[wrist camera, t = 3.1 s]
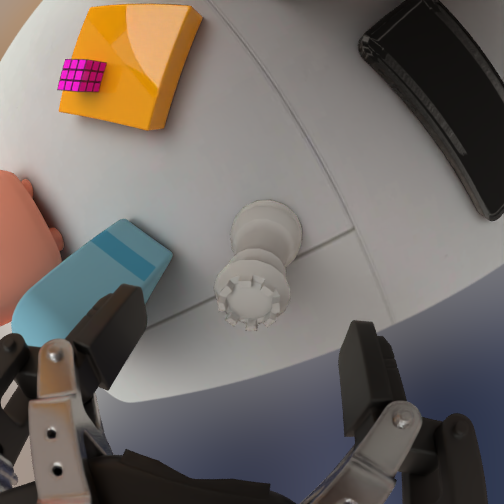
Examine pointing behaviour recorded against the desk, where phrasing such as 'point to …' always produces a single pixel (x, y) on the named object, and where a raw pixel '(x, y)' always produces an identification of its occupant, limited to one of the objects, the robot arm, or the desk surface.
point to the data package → (89, 281)
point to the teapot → (22, 243)
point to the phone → (446, 92)
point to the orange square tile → (128, 63)
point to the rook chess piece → (259, 264)
